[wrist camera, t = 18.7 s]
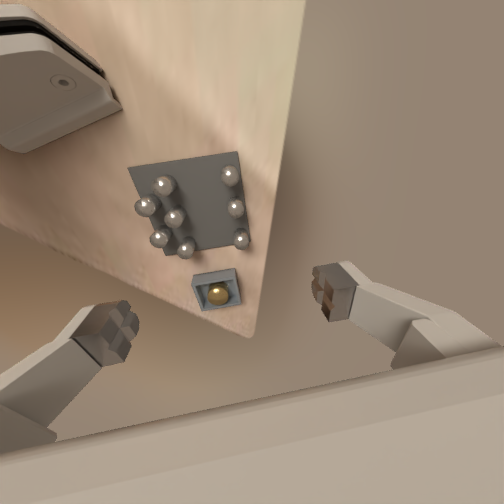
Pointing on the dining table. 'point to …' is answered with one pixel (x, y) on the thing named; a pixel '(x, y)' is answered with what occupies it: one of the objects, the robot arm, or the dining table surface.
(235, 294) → the tray
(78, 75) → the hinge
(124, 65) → the dining table surface
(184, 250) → the spacers
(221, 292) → the knob
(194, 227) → the mat
